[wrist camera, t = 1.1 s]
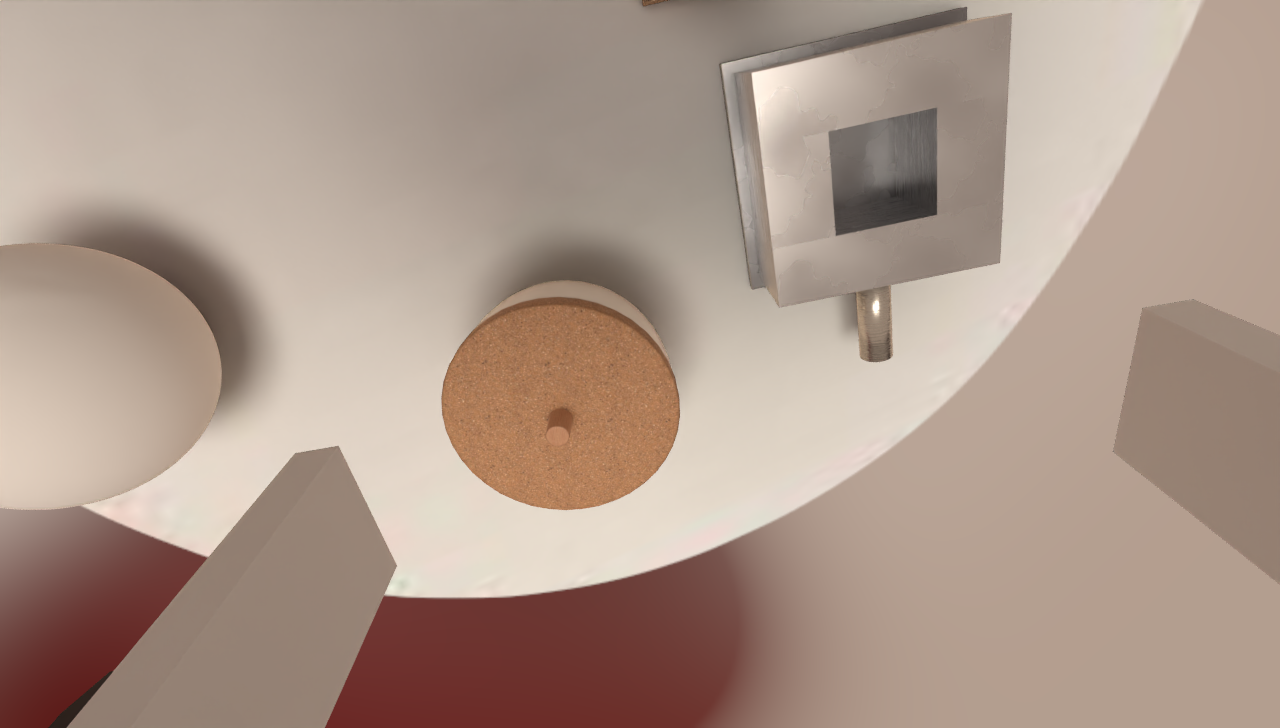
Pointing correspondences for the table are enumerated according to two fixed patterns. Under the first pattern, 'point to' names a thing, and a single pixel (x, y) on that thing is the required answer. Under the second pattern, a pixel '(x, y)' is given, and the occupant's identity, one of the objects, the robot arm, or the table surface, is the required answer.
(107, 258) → the decorative ball
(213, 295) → the table surface
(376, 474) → the table surface
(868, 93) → the square block with stud
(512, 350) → the lidded jar
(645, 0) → the key stand
